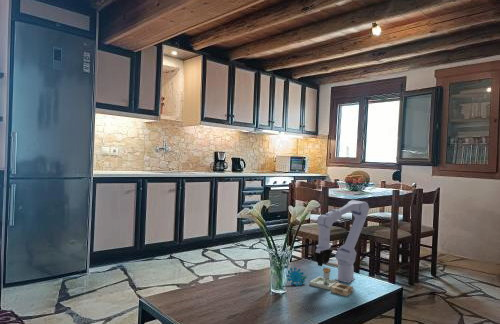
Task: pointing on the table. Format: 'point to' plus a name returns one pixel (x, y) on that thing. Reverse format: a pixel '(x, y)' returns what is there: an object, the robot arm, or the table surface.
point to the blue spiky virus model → (296, 276)
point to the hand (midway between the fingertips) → (323, 264)
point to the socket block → (342, 289)
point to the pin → (326, 276)
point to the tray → (319, 283)
